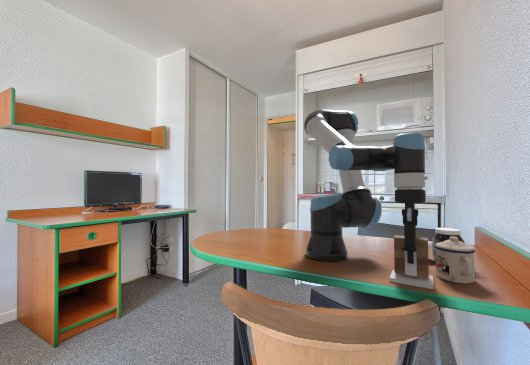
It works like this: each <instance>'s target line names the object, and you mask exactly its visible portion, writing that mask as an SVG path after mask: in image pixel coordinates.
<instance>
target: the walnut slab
mask: <svg viewBox="0 0 530 365" xmlns="http://www.w3.org/2000/svg"><path fill="white" fill-rule="evenodd" d="M428 241H429V237H421V236H416V237H415V244H416V260H417V276H416V277H423V278H429V275H430V274H429V272H430V270H429V269H430V268H429V252H428ZM404 246H405V240H404V235H401V234H400V235H399V234H398V235H397V234H395V235H394V236H393V252H394V253H393V257H394V259H393V260H394V261H393V262H394V264H393V265H394V267H393V268H394V270H395V273H398V274H404V275H406V274H405V251H403V250H402V248H404ZM410 276H412V275H410Z"/></svg>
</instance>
